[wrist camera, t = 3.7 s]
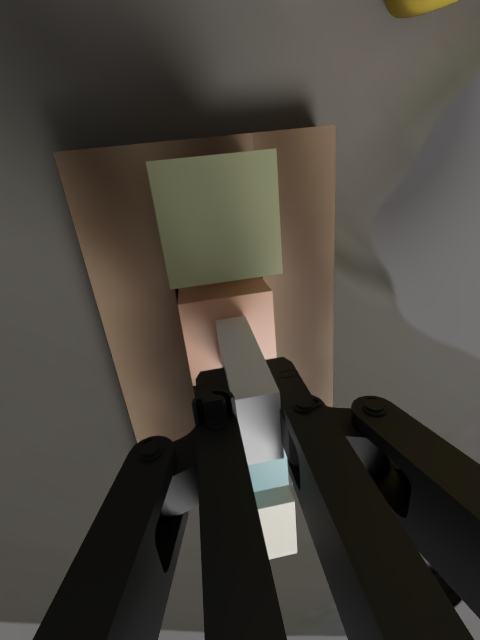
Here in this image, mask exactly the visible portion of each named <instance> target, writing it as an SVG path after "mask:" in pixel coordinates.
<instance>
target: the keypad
mask: <svg viewBox="0 0 480 640" xmlns="http://www.w3.org/2000/svg"><path fill="white" fill-rule="evenodd" d="M335 143H336V125H328V126H318V127H307V128H297V129H287V130H276V131H266V132H255V133H245V134H235V135H224V136H214V137H203V138H193V139H183V140H172V141H162V142H151V143H141V144H130V145H120V146H110V147H99V148H89V149H78V150H68V151H58V152H53V154H54V158H55V161H56V165H57V168H58V172H59V175H60V178H61V182H62V185H63V189H64V192H65V196H66V199H67V203H68V206H69V209H70V213H71V216H72V220H73V223H74V227H75V230H76V234H77V237H78V240H79V244H80V247H81V251H82V254H83V258H84V261H85V264H86V268H87V271H88V275H89V278H90V282H91V285H92V289H93V292H94V295H95V299H96V302H97V306H98V309H99V313H100V316H101V320H102V323H103V326H104V330H105V333H106V337H107V340H108V344H109V347H110V351H111V354H112V357H113V361H114V364H115V368H116V371H117V375H118V378H119V382H120V385H121V388H122V392H123V395H124V399H125V402H126V406H127V409H128V413H129V416H130V419H131V423H132V426H133V430H134V433H135V437H136V440H137V443H138V442H140V441H141V440H143V439H146V438H148V437H151V436H158V435H159V436H166V437H167V438H169V439H171V440H172V442H173V441H175V440H178V439H180V438H182V437H184V436H186V435H187V434H188V433H190V432H191V431H192V430H193V429H194V427H195V426H196V425H195V420H194V415H193V410H192V401H193V399H194V398H195V397H196V386H193V383H192V378H191V373H190V367H189V362H188V357H187V352H186V346H185V341H184V336H183V330H182V325H181V320H180V314H179V309H178V293H179V288H178V289H171V290H170V285H169V280H168V275H167V270H166V264H165V259H164V254H163V249H162V244H161V239H160V233H159V228H158V223H157V218H156V213H155V208H154V202H153V197H152V192H151V187H150V182H149V176H148V171H147V166H146V162H147V161H157V160H167V159H177V158H187V157H196V156H206V155H216V154H226V153H236V152H246V151H255V150H265V149H275V148H276V151H277V170H278V189H279V209H280V228H281V248H282V267H283V274H277V275H270V276H263V277H261V278H262V279H263V280H264V281H265V282H266V284H267V285H268V286H269V287H270V289H271V290H272V292H273V308H274V323H275V338H276V353H277V358H278V357H285V358H286V359H288V360H290V361H291V362H292V363H293V365H294V366H295V368H296V370H297V371H298V373H299V375H300V376H301V378H302V380H303V381H304V383H305V385H306V386H307V388H308V390H309V391H310V393H311V395H314V396H316V397H318V398H320V399H321V400H322V401H323V402H324V403H325V405H326V406H329V407H333V321H334V232H335ZM292 486H293V484H292ZM198 506H199V505H198Z"/></svg>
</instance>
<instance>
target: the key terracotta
mask: <svg viewBox="0 0 480 640" xmlns="http://www.w3.org/2000/svg"><path fill="white" fill-rule="evenodd" d="M178 309H179V314H180V320H181V325H182V330H183V336H184V341H185V346H186V352H187V357H188V362H189V367H190V373H191V378H192V383H193V386H196V378H197V376H198V374H199V373H200V371H206V370H212V369H218V368H222V364H221V357H220V350H219V343H218V336H217V329H216V322H215V320H220V319H227V318H234V317H240V316H246V319H247V321H248V323H249V325H250V327H251V330H252V332H253V334H254V336H255V339H256V341H257V343H258V345H259V347H260V350H261V352H262V354H263V356H264V358H265V360H266V359H272V358H277V353H276V338H275V323H274V308H273V292H272V290H271V289H270V287H269V286H268V285H267V284H266V282H265V281H264V280H263V279H262V278H261V277H256V278H249V279H242V280H235V281H228V282H220V283H213V284H206V285H199V286H192V287H185V288H179V293H178Z"/></svg>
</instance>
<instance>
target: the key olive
mask: <svg viewBox="0 0 480 640" xmlns="http://www.w3.org/2000/svg"><path fill="white" fill-rule="evenodd" d="M146 166H147V171H148V176H149V182H150V187H151V192H152V197H153V202H154V208H155V213H156V218H157V223H158V228H159V233H160V239H161V244H162V249H163V254H164V259H165V264H166V270H167V275H168V280H169V285H170V290H171V289H178V288H185V287H192V286H199V285H206V284H213V283H220V282H228V281H235V280H242V279H249V278H256V277H263V276H270V275H277V274H283V267H282V248H281V228H280V209H279V189H278V170H277V151H276V148H275V149H265V150H255V151H246V152H236V153H226V154H216V155H206V156H196V157H187V158H177V159H167V160H157V161H147V162H146Z"/></svg>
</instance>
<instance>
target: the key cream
mask: <svg viewBox="0 0 480 640" xmlns="http://www.w3.org/2000/svg"><path fill="white" fill-rule="evenodd" d="M254 495H255V499H256V504H257V508H258V513H259V517H260V522H261V526H262V530H263V535H264V539H265V544H266V548H267V553H268V557H269V559H273V558H278V557H282V556H286V555H291V554H295V553H297V539H296V519H295V501H294V498H293V495H292V493H291V490H290V488H289V485H286V486H281V487H276V488H272V489H267V490H262V491H257V492H254Z"/></svg>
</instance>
